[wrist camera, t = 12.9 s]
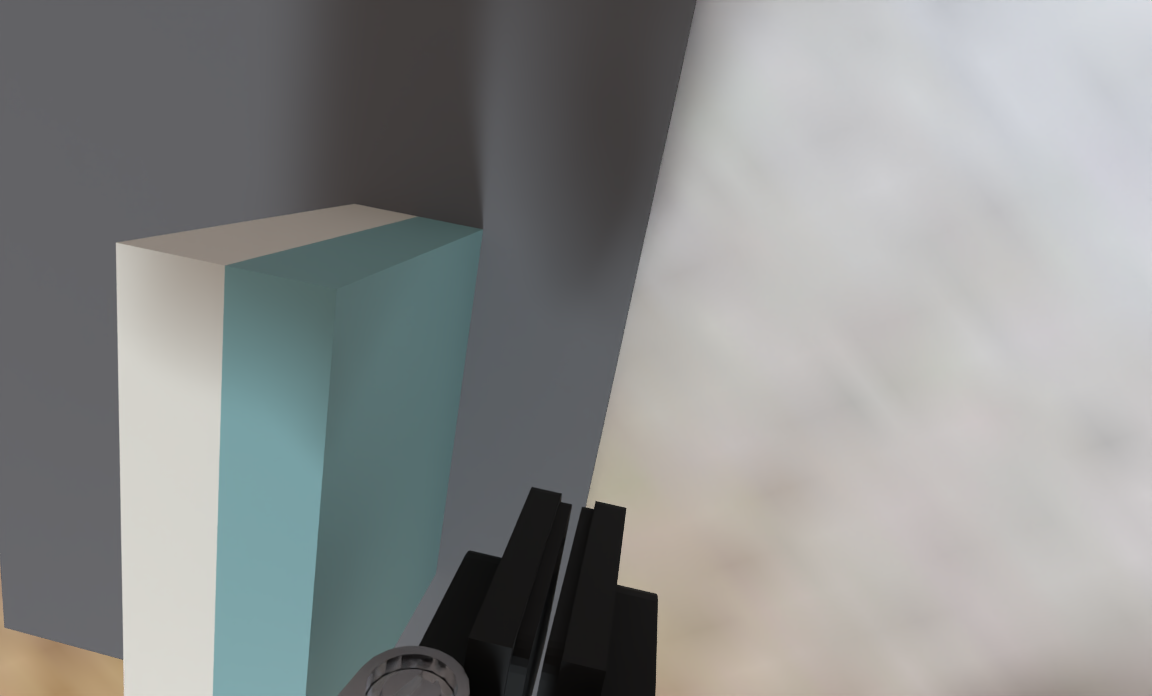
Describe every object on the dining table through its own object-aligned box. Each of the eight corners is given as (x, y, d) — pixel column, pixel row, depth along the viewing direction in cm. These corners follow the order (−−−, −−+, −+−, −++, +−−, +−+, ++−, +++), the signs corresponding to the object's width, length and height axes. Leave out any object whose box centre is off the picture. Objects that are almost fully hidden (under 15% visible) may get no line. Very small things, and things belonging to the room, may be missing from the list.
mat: (-28, -140, 15) (-46, -148, 15) (697, -9, 14) (699, -13, 14) (16, 619, 21) (4, 627, 21) (530, 757, 20) (527, 769, 19)
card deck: (354, 203, 16) (116, 242, 9) (482, 229, 15) (336, 288, 9) (326, 546, 18) (125, 775, 12) (435, 573, 18) (295, 822, 11)
